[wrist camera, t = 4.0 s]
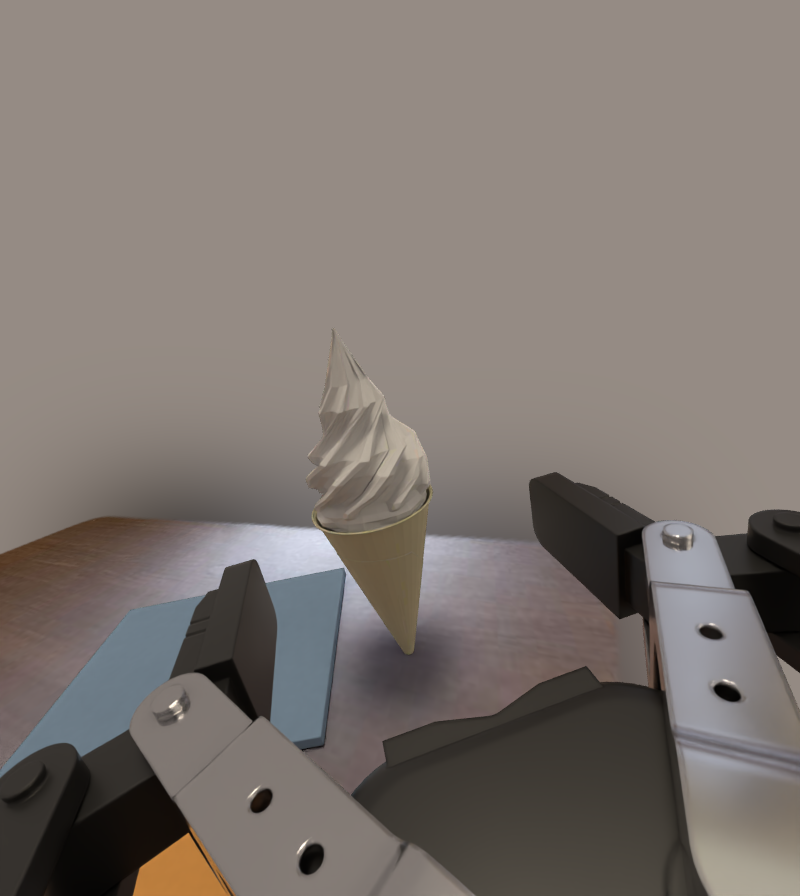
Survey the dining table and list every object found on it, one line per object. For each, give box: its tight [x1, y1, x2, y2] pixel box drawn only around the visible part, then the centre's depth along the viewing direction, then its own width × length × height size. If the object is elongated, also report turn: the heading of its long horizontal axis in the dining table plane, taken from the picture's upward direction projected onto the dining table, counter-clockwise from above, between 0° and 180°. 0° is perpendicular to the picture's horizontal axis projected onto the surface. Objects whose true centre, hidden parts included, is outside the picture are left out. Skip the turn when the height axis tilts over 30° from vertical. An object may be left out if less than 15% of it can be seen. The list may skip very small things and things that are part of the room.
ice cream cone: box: [306, 328, 433, 655], centre depth 18 cm, size 5×5×15 cm
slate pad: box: [0, 568, 346, 778], centre depth 22 cm, size 14×11×1 cm
